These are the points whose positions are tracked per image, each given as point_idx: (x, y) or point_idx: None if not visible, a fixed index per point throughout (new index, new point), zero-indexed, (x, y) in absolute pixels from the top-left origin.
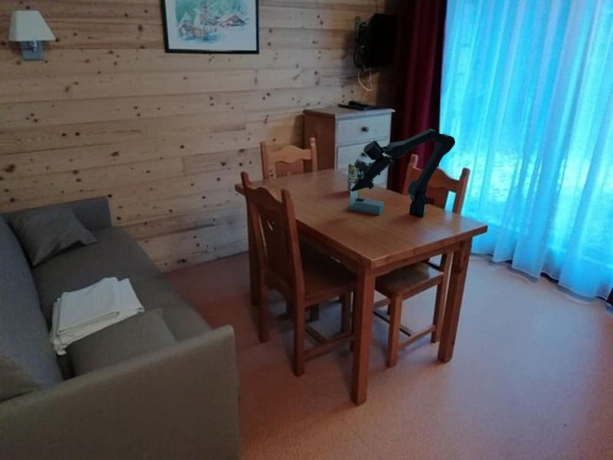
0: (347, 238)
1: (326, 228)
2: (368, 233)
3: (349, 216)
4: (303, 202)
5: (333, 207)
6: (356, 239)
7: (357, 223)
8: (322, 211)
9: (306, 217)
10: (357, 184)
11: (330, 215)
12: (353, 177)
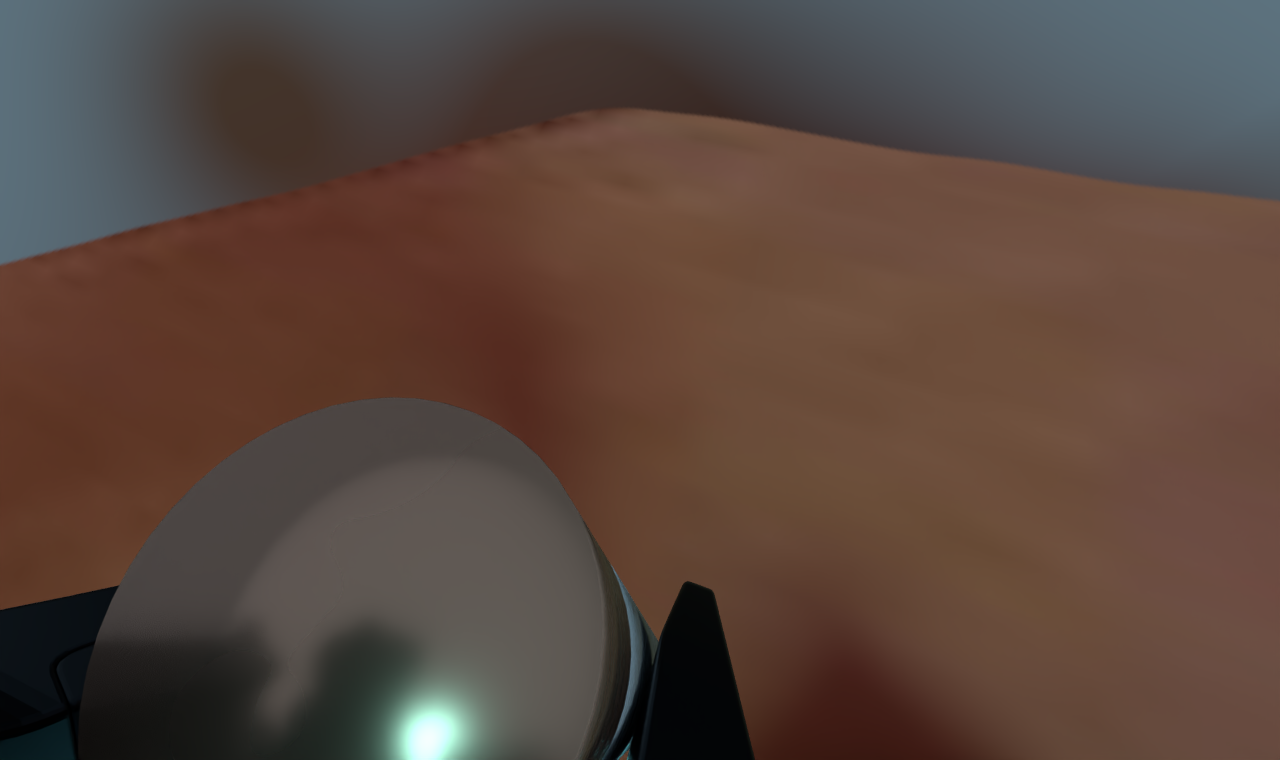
0: (80, 338)
1: (382, 246)
2: None
3: None
4: (1247, 249)
5: (1042, 555)
6: (5, 407)
7: None
8: (880, 358)
9: (717, 165)
10: None
11: (721, 401)
12: (601, 631)
